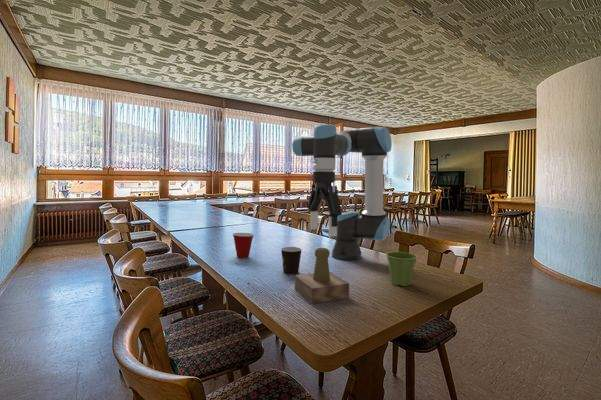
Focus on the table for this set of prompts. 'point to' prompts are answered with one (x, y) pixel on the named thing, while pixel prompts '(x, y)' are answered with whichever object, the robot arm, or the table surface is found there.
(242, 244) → the plastic cup
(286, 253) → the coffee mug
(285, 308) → the table surface
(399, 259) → the plant pot
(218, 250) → the table surface
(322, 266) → the pepper mill
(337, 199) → the robot arm
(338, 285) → the walnut pedestal
